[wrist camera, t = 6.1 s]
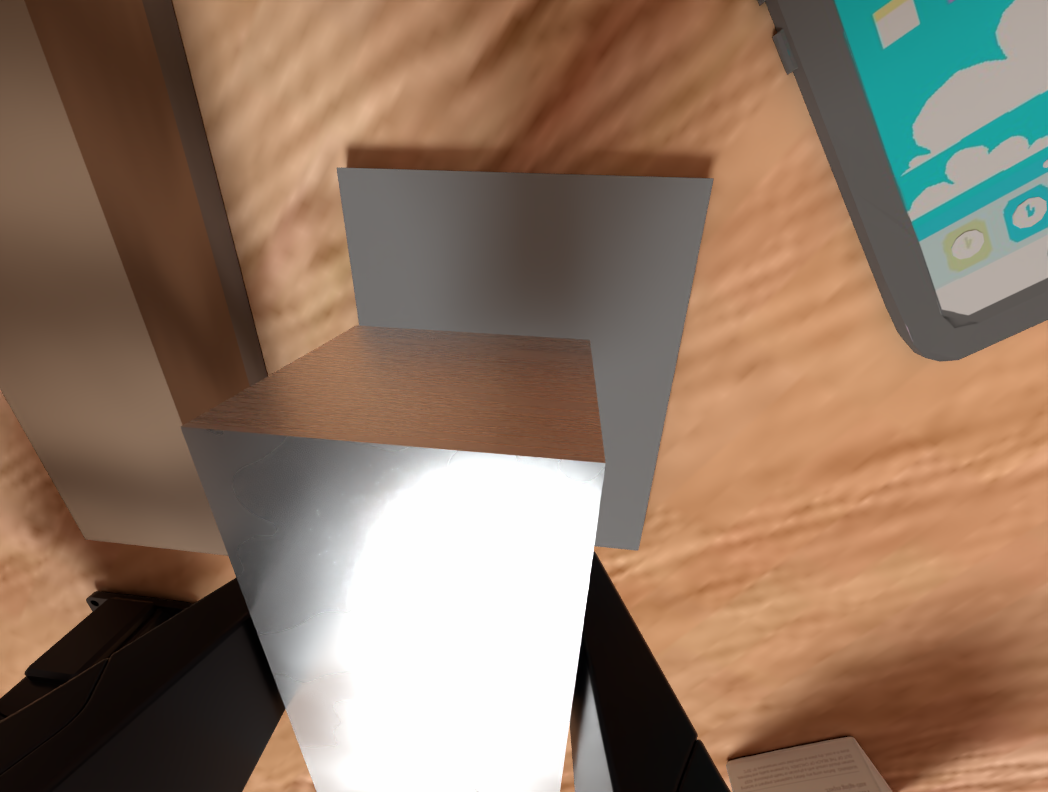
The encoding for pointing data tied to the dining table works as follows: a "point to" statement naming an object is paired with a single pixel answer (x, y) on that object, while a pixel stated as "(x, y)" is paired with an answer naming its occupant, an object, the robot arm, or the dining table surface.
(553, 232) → the rubber mat
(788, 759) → the supplement box
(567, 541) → the light gray block
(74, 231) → the plane body
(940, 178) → the smartphone
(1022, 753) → the dining table surface
